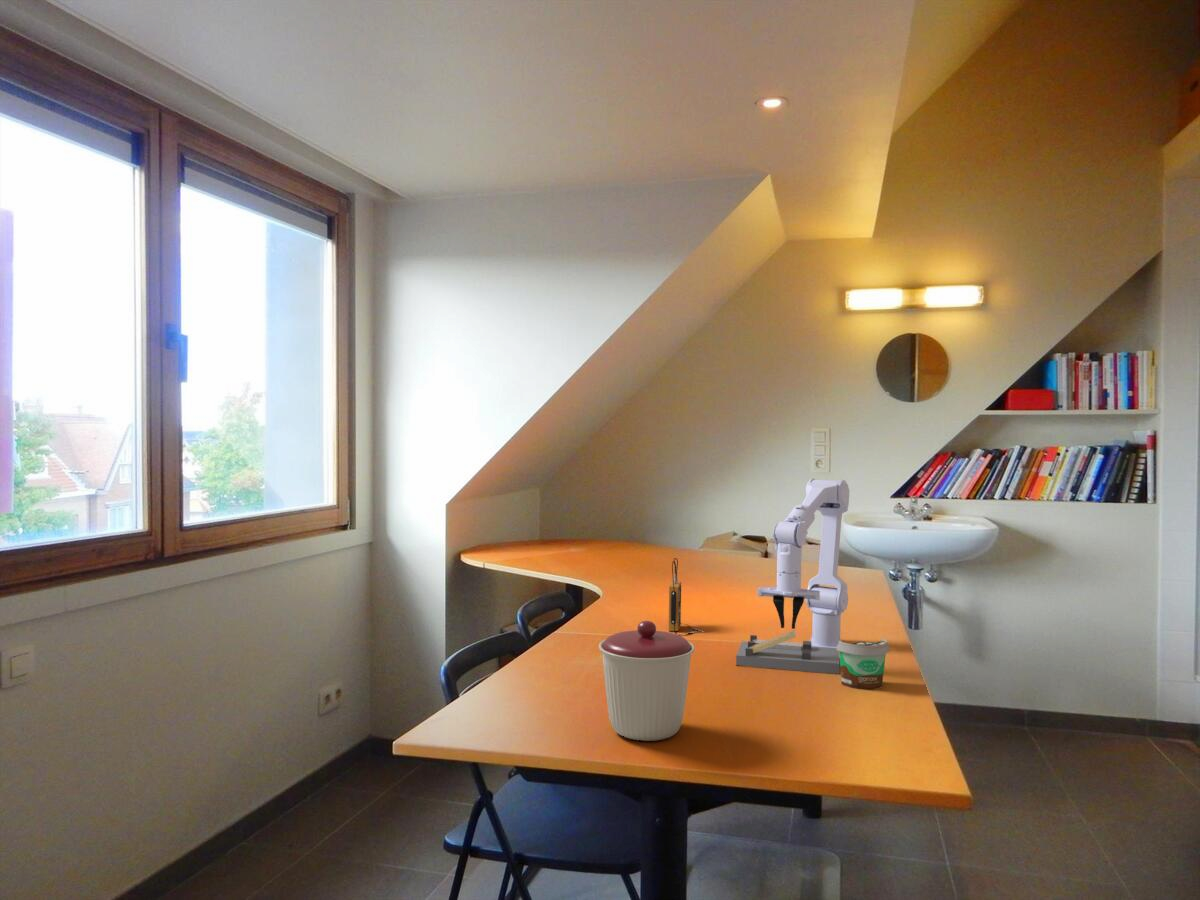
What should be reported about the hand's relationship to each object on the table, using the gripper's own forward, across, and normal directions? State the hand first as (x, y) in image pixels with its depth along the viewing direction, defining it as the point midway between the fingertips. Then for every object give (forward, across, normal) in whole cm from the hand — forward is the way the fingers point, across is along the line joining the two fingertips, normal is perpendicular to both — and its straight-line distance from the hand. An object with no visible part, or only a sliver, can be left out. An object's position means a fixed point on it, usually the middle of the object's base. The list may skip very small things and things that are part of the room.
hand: (788, 627), depth 204 cm
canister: (+10, -24, -52) cm, 58 cm away
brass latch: (+4, -4, 0) cm, 6 cm away
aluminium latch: (+7, -3, +8) cm, 11 cm away
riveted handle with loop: (+10, -29, +29) cm, 42 cm away
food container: (+10, +18, -11) cm, 23 cm away
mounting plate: (+9, 0, +4) cm, 10 cm away
